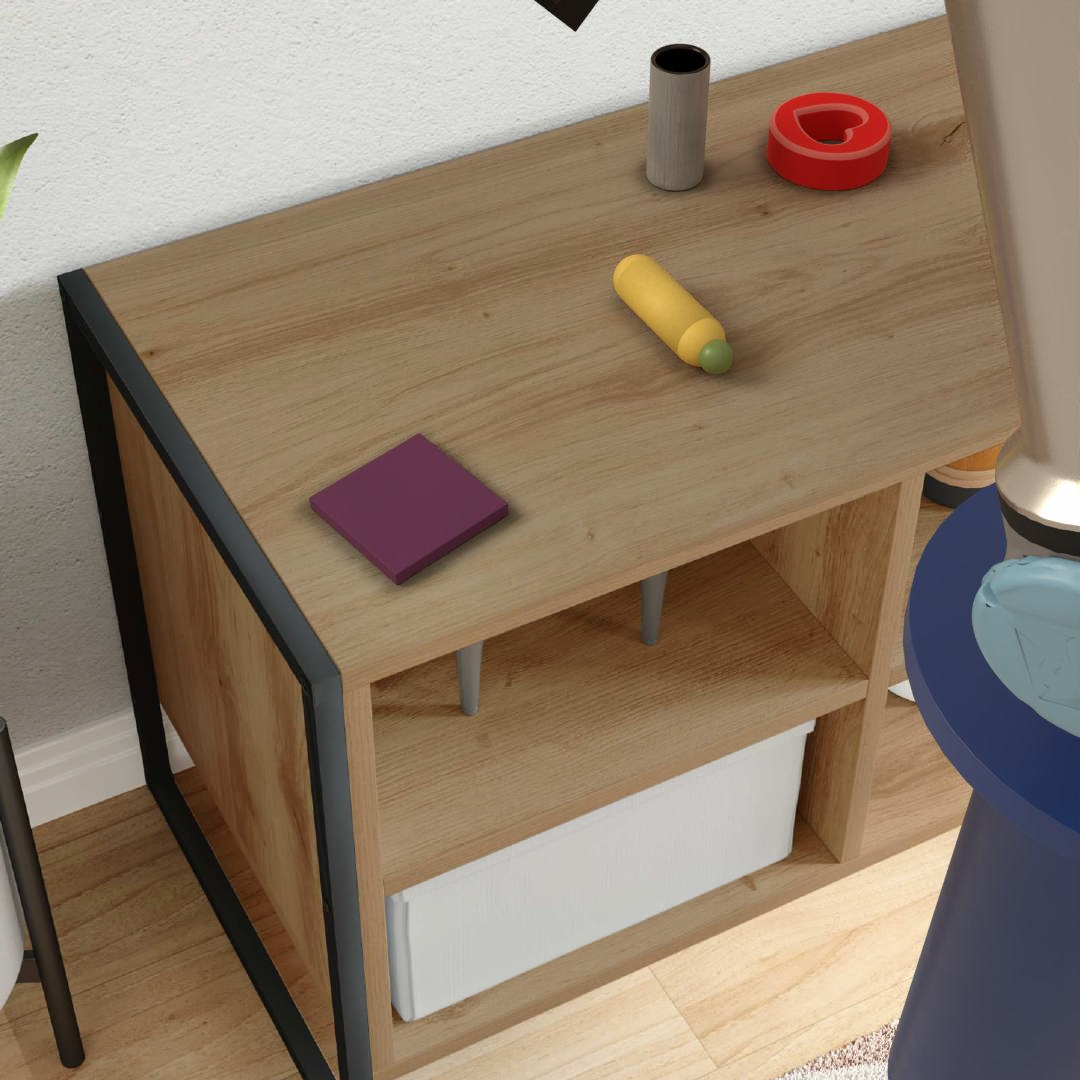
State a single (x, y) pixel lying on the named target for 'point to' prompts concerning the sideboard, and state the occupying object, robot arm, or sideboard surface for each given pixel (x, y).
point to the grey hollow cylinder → (677, 116)
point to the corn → (672, 313)
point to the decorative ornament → (829, 120)
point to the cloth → (408, 507)
